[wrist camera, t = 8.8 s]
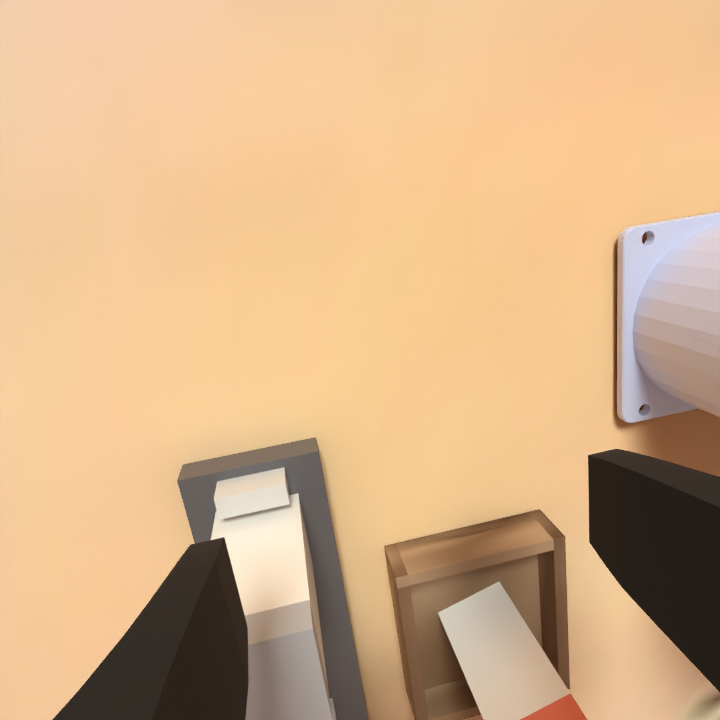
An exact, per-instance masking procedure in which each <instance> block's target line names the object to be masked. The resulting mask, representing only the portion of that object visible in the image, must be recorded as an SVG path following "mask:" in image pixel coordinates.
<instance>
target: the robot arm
mask: <svg viewBox="0 0 720 720" xmlns="http://www.w3.org/2000/svg"><path fill="white" fill-rule="evenodd" d="M645 232H646V234H647V239H646V241H645V243H644V244H643V243H642V236H643V234H644V233H645ZM642 405H644V406H643V409H642V410H641V411H640V412H639V408H640V407H641V406H642ZM694 409H702V410H704V411H706V412H709V413H711V414H713V415H715V416H718V417H720V211H719V212H713V213H707V214H701V215H695V216H689V217H683V218H677V219H671V220H665V221H659V222H653V223H647V224H641V225H635V226H630V227H627V228H625V229H624V230H623V231H622V232H621V233H620V235H619V237H618V283H617V414H618V417H619V418H620V419H621V420H623V421H625V422H627V423H635V422H639V421H644V420H649V419H653V418H658V417H662V416H667V415H671V414H676V413H681V412H685V411H690V410H694ZM588 470H589V542H590V544H591V545H592V547H593V548H594V549H595V551H596V552H597V554H598V555H599V557H600V558H601V559H602V561H603V562H604V564H605V565H606V567H607V568H608V569H609V571H610V572H611V573H612V575H613V576H614V577H615V579H616V580H617V581H618V583H619V584H620V585H621V587H622V588H623V589H624V590H625V591H626V592H627V593H628V594H629V595H630V597H631V598H632V599H633V600H634V601H635V602H636V603H637V604H638V605H639V606H640V607H641V609H642V610H643V611H644V612H645V613H646V614H647V615H648V616H649V617H650V618H651V619H652V620H653V622H654V623H655V624H656V625H657V626H658V627H659V628H660V629H661V630H662V631H663V632H664V633H665V634H666V635H667V636H668V637H669V639H670V640H671V641H672V642H673V643H674V644H675V645H676V646H677V647H678V648H679V649H680V650H681V651H682V652H683V653H684V654H685V656H686V657H687V658H688V659H689V660H690V661H691V662H692V663H693V664H694V665H695V666H696V667H697V668H698V669H699V670H700V672H701V673H702V674H703V675H704V676H705V677H706V678H707V679H708V680H709V681H710V682H711V683H712V684H713V685H714V686H715V687H716V689H717V690H718V691H719V692H720V477H717V476H714V475H710V474H707V473H704V472H700V471H697V470H694V469H690V468H687V467H684V466H680V465H677V464H674V463H670V462H667V461H663V460H660V459H656V458H653V457H649V456H645V455H642V454H638V453H634V452H629V451H624V450H619V449H614V450H609V451H605V452H600V453H596V454H592V455H588ZM248 685H249V677H248V626H247V623H246V619H245V615H244V611H243V607H242V603H241V599H240V596H239V592H238V588H237V584H236V580H235V576H234V572H233V569H232V565H231V561H230V557H229V553H228V549H227V545H226V542H225V538H224V537H223V538H218V539H214V540H209V541H205V542H200V543H196V544H192V545H190V546H189V547H188V549H187V550H186V551H185V553H184V554H183V556H182V557H181V558H180V560H179V561H178V562H177V564H176V565H175V566H174V568H173V569H172V571H171V572H170V573H169V575H168V576H167V578H166V579H165V580H164V582H163V583H162V585H161V586H160V587H159V589H158V590H157V592H156V593H155V594H154V596H153V597H152V598H151V600H150V601H149V603H148V604H147V605H146V607H145V608H144V609H143V611H142V612H141V613H140V615H139V616H138V617H137V619H136V620H135V621H134V623H133V624H132V625H131V627H130V628H129V629H128V631H127V632H126V633H125V635H124V636H123V637H122V638H121V640H120V641H119V642H118V643H117V644H116V646H115V647H114V648H113V649H112V651H111V652H110V653H109V654H108V656H107V657H106V658H105V659H104V660H103V662H102V663H101V664H100V665H99V667H98V668H97V669H96V670H95V671H94V673H93V674H92V675H91V676H90V678H89V679H88V680H87V681H86V682H85V684H84V685H83V686H82V687H81V688H80V690H79V691H78V692H77V693H76V694H75V695H74V696H73V698H72V699H71V700H70V701H69V702H68V703H67V704H66V705H65V706H64V708H63V709H62V710H61V711H60V712H59V713H58V714H57V715H56V716H55V718H54V719H53V720H245V719H246V708H247V697H248Z"/></svg>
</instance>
